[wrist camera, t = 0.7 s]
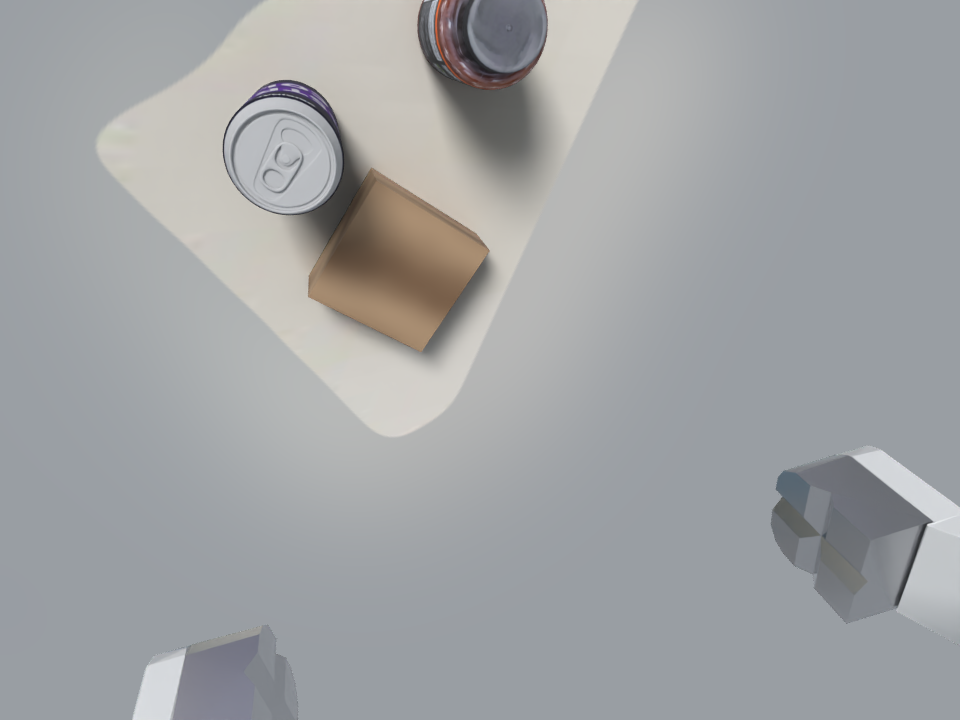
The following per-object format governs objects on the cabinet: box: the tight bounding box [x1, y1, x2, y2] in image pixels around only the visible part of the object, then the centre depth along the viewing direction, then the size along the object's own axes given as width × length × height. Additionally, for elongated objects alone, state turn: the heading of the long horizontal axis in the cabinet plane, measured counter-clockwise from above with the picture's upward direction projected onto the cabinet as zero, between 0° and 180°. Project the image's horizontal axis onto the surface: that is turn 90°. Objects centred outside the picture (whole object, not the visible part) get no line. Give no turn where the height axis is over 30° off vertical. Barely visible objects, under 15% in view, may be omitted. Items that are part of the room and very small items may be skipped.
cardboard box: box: [308, 168, 490, 352], centre depth 42 cm, size 9×9×4 cm
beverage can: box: [223, 80, 344, 215], centre depth 33 cm, size 6×6×12 cm
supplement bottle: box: [417, 0, 548, 90], centre depth 33 cm, size 6×6×11 cm
